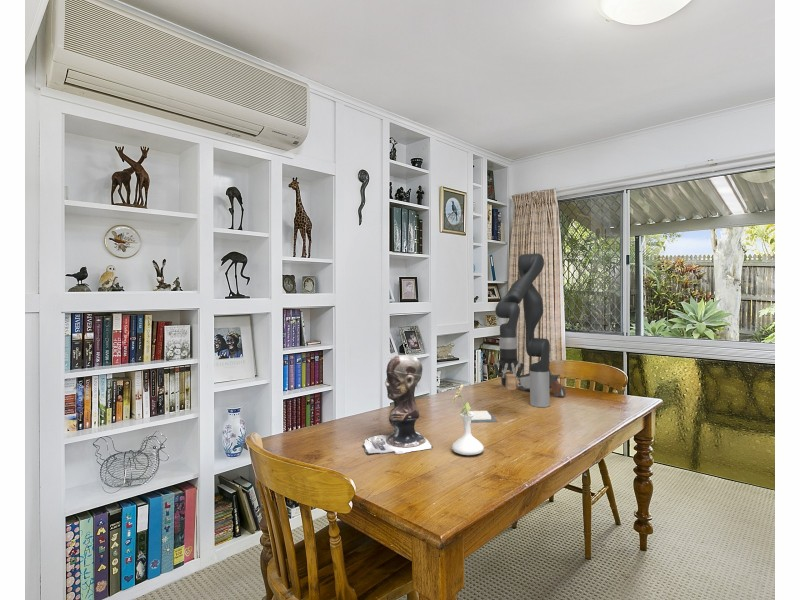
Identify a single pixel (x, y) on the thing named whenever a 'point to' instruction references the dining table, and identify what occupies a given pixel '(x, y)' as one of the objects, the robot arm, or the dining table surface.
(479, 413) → the tile
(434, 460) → the dining table surface
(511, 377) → the brown rectangular block
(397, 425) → the head bust
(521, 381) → the gun
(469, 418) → the flower in vase
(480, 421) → the mat
